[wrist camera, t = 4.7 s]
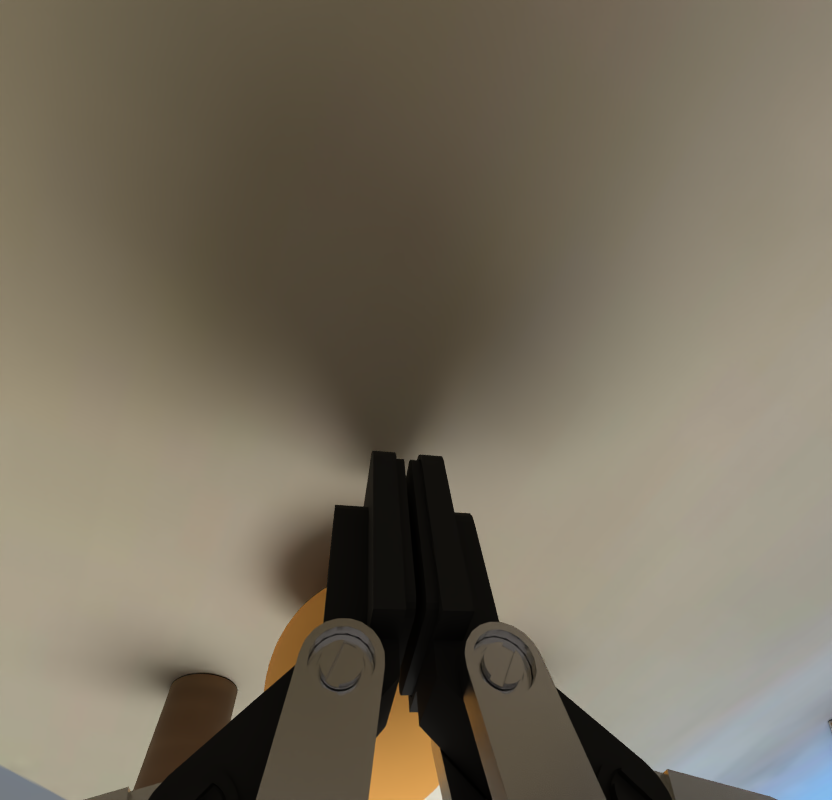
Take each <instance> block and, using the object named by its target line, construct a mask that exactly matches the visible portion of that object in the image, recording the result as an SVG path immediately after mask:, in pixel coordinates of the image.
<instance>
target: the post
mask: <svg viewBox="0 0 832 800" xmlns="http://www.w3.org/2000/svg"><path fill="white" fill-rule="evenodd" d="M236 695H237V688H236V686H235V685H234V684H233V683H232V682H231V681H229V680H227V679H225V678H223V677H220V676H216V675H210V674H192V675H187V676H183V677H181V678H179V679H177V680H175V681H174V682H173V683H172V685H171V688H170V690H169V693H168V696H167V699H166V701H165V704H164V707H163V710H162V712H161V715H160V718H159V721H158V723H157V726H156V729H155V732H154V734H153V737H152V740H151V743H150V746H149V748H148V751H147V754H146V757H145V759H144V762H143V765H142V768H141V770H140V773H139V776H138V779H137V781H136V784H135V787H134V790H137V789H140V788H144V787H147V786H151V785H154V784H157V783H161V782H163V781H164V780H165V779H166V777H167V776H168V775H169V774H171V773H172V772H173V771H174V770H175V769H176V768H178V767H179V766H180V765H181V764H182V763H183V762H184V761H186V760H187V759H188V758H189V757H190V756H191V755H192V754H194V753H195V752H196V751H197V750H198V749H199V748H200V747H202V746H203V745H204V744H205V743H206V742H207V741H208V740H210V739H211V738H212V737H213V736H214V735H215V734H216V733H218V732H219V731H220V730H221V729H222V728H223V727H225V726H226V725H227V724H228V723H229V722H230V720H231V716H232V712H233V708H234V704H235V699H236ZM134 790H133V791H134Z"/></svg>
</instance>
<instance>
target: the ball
mask: <svg viewBox="0 0 832 800" xmlns="http://www.w3.org/2000/svg"><path fill="white" fill-rule="evenodd" d="M326 590H327V587H326V588H325V589H323V590H321V591H320V592H319V593H317V594H316V595H315V596H313V597H312V598H311V599H310V600H308V601H307V602H306V603H305V604H304V605H303V606H302V607H301V608H300V609H299V610H298V612H297V613H296V614H295V615H294V617H293V618H292V619H291V621H290V622H289V623H288V625H287V626H286V628H285V630H284V631H283V633H282V635H281V637H280V638H279V640H278V642H277V644H276V647H275V649H274V652H273V654H272V657H271V660H270V664H269V667H268V671H267V675H266V681H265V688H264V692H265V691H266V690H267V689H268V688H269V687H270V686H272V685H273V684H274V683H275V682H276V681H277V680H278V679H280V678H281V677H282V676H283V675H284V674H285V673H286V672H288V671H289V670H290V669H291V668H292V667H293V666H294V665H295V664H296V661H297V658H298V654H299V651H300V649H301V647H302V645H303V642H304V640H305V639H306V637H307V636H308V635H309V634H310V633H311V632H312V631H313V630H314V629H315V628H316V627H318V626H319V625H321V624H323V620H324V610H325V600H326ZM438 786H439V781H438V776H437V772H436V767H435V763H434V758H433V753H432V747H431V738H430V737H429V736H428V735H427V734H426V733H425V732H424V730H423V729H422V728H421V727H420V726H419V718H418V712H409V699H408V695H400V692H399V682H398V686H397V689H396V693H395V696H394V700H393V703H392V707H391V710H390V714H389V717H388V721H387V724H386V727H385V728H384V729H383V730H382V732H381V733H380V734H379V735H378V736H377V738H376V742H375V750H374V758H373V766H372V775H371V783H370V791H369V799H368V800H424V799H425V798H426V797H427V796H429V795H430V794H431V793H432V792H433V791H434V790H435V789H436V788H437V787H438Z"/></svg>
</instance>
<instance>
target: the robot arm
mask: <svg viewBox="0 0 832 800" xmlns="http://www.w3.org/2000/svg"><path fill="white" fill-rule="evenodd" d="M398 682H399V692H400V695H408V699H409V712H418V718H419V726H420V727H421V728H422V729H423V730H424V732H425V733H426V734H427V735H428V736H429V737H430V738H431V747H432V753H433V758H434V763H435V767H436V772H437V776H438V781H439V786H440V790H441V795H442V799H443V800H777V799H774V798H772V797H770V796H766V795H762V794H759V793H755V792H751V791H747V790H744V789H740V788H736V787H732V786H729V785H725V784H721V783H717V782H714V781H710V780H706V779H702V778H699V777H695V776H691V775H687V774H684V773H680V772H676V771H672V770H669V769H667V770H666V771H665V772H664V773H660V772H657V771H653V770H652V769H651V768H650V767H649V766H648V765H647V764H646V763H645V762H644V761H643V760H642V759H641V758H639V757H638V756H637V755H636V754H635V753H634V752H632V751H631V750H630V749H629V748H628V747H626V746H625V745H624V744H623V743H622V742H620V741H619V740H618V739H617V738H616V737H614V736H613V735H612V734H611V733H610V732H608V731H607V730H606V729H605V728H604V727H603V726H601V725H600V724H599V723H598V722H597V721H595V720H594V719H593V718H592V717H591V716H589V715H588V714H587V713H586V712H585V711H583V710H582V709H581V708H580V707H579V706H577V705H576V704H575V703H574V702H573V701H572V700H570V699H569V698H568V697H567V696H566V695H564V694H563V693H562V692H561V691H560V690H558V689H557V688H556V687H555V685H554V683H553V680H552V678H551V676H550V674H549V672H548V669H547V667H546V665H545V663H544V660H543V658H542V656H541V654H540V652H539V651H538V649H537V647H536V646H535V644H534V643H533V642H532V641H531V640H530V638H529V637H528V636H527V635H526V634H525V633H523V632H522V631H520V630H519V629H517V628H515V627H514V626H512V625H509V624H506V623H503V622H499V619H498V615H497V611H496V607H495V603H494V599H493V595H492V591H491V587H490V583H489V579H488V575H487V571H486V567H485V563H484V559H483V555H482V551H481V547H480V543H479V539H478V535H477V531H476V527H475V523H474V520H473V517H472V516H471V514H470V513H455V512H454V508H453V504H452V499H451V494H450V489H449V484H448V479H447V475H446V470H445V465H444V460H443V457H442V456H431V455H419V456H418V459H417V460H410V461H409V465H408V470H407V475H405V464H404V459H396V453H395V452H383V451H372V455H371V462H370V468H369V475H368V482H367V488H366V495H365V501H364V507H359V506H344V505H335V511H334V520H333V530H332V540H331V550H330V560H329V570H328V580H327V590H326V600H325V610H324V620H323V624H321V625H319V626H318V627H316V628H315V629H314V630H313V631H312V632H311V633H310V634H309V635H308V636H307V637H306V639H305V640H304V642H303V645H302V647H301V649H300V651H299V654H298V658H297V661H296V664H295V665H294V666H293V667H292V668H291V669H290V670H289V671H288V672H286V673H285V674H284V675H283V676H282V677H281V678H280V679H278V680H277V681H276V682H275V683H274V684H273V685H272V686H270V687H269V688H268V689H267V690H266V691H265V692H263V693H262V694H261V695H260V696H259V697H258V698H257V699H255V700H254V701H253V702H252V703H251V704H250V705H249V706H247V707H246V708H245V709H244V710H243V711H242V712H241V713H239V714H238V715H237V716H236V717H235V718H234V719H233V720H231V721H230V722H229V723H228V724H227V725H226V726H225V727H223V728H222V729H221V730H220V731H219V732H218V733H216V734H215V735H214V736H213V737H212V738H211V739H210V740H208V741H207V742H206V743H205V744H204V745H203V746H202V747H200V748H199V749H198V750H197V751H196V752H195V753H194V754H192V755H191V756H190V757H189V758H188V759H187V760H186V761H184V762H183V763H182V764H181V765H180V766H179V767H178V768H176V769H175V770H174V771H173V772H172V773H171V774H169V775H168V776H167V777H166V779H165V780H164V781H163V782H161V783H157V784H154V785H151V786H147V787H144V788H140V789H137V790H134V791H130V789H129V787H126V788H123V789H119V790H116V791H112V792H109V793H105V794H102V795H99V796H95V797H92V798H88V799H85V800H368V799H369V791H370V783H371V775H372V766H373V758H374V750H375V742H376V738H377V736H378V735H379V734H380V733H381V732H382V730H383V729H384V728H385V727H386V724H387V721H388V717H389V714H390V710H391V707H392V703H393V700H394V696H395V693H396V689H397V686H398Z"/></svg>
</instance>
